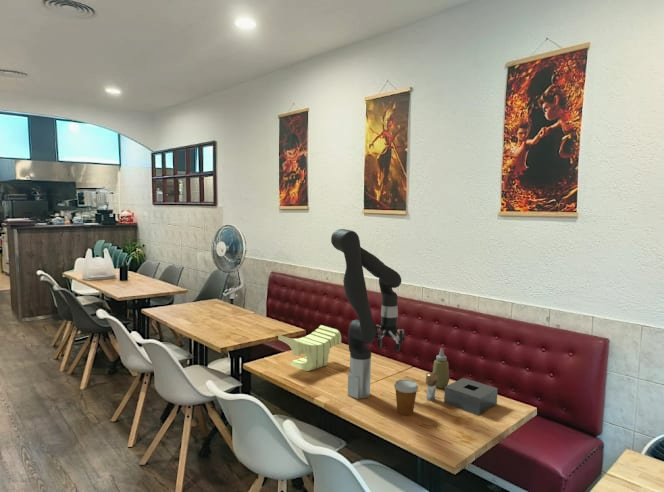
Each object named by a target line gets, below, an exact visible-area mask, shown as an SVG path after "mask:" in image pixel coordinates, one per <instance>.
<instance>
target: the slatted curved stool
mask: <svg viewBox="0 0 664 492" xmlns="http://www.w3.org/2000/svg"><path fill="white" fill-rule="evenodd" d="M277 340H279V341H281V342H283V343H285V344H286V345H288V346H289V347H290V350H291V352H292V355H293V356H296V357H300V356H301V355H304V354H305V355H304V357H301V358H297V359H294V360H291V363H290V365H291V366H292V367H295V368H297V369H300V370H303V371H306V372H309V371H312V370H313V371H314V370H316V369H318V368H322V367H325V366H327V365H328V362H329V355H330V351H331V349H332V348H333V347H334V346H337V345H340V346H341V345H342V334H341V332H340V331H339V330H338V329H337V328H332V327H330V326H326V325H322V324H320V325H319V326H318V328H316V329H315V330H314V331H312V332H311V333H309V334H308V335H305V336H302V337H299V338H290V337H288V336H284V335H281V334H278V338H277Z"/></svg>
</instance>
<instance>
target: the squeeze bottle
mask: <svg viewBox="0 0 664 492" xmlns="http://www.w3.org/2000/svg"><path fill="white" fill-rule="evenodd" d="M435 358H436V359H435V360H434V361H433V367H432V373H436V374H437V385H436V388H438V389H445V387H446V386H448V385H449V382H450V369H449V366H450V365H449V361H448V360H447V356H446V355H445V353H444V348H440V349H439V354H438V355H436V357H435Z"/></svg>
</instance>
